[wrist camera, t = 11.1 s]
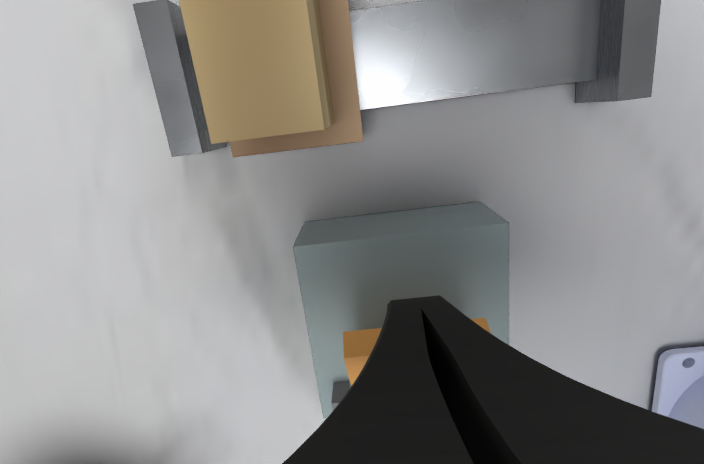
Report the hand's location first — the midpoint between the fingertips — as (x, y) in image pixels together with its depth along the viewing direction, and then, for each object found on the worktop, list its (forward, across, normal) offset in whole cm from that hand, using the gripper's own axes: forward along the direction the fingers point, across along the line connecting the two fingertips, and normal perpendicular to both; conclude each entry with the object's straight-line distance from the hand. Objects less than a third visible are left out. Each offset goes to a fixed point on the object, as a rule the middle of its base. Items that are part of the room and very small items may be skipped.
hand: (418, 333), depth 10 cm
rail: (+6, 0, -7) cm, 9 cm away
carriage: (+6, +3, -7) cm, 10 cm away
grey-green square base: (+6, 0, +2) cm, 7 cm away
